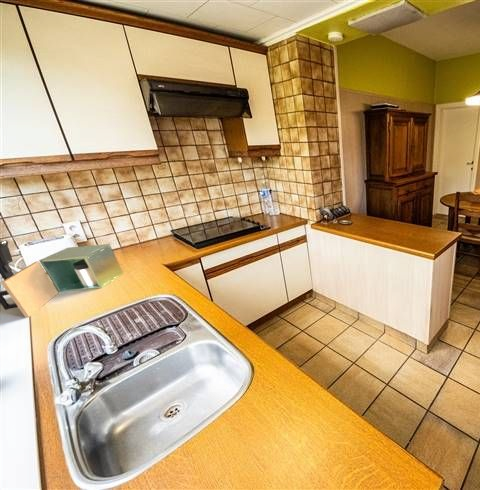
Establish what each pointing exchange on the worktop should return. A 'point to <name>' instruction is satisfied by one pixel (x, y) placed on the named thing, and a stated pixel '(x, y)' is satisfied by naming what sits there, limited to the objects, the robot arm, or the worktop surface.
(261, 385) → the worktop surface
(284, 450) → the worktop surface
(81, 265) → the jar
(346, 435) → the worktop surface
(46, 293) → the fridge door
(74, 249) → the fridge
